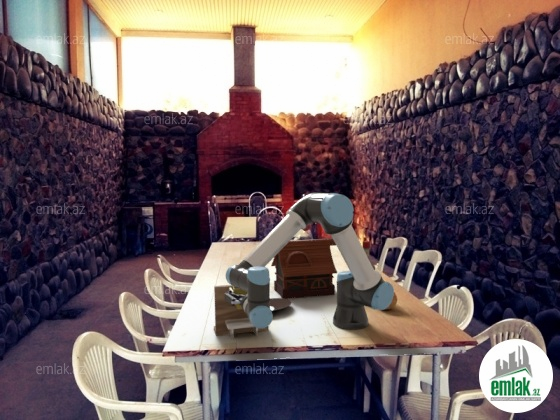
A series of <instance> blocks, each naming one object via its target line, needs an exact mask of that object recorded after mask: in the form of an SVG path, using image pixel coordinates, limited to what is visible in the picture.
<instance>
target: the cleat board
mask: <svg viewBox="0 0 560 420" xmlns="http://www.w3.org/2000/svg"><path fill="white" fill-rule="evenodd" d="M213 287H214V290H213V291H214V293H213V294H214V326H213V330H214V334H215V336H226V335H229V336H230V337H231V339H234V338H235V337H234V336H235V335H236V334H246V333H254V335H255V336H256V337H257V336H259V332H263V331H269V329H270V328H269V327H270V325H269V326H267V327H266V328H257V327H255V326H254V325H253V324H251V322H250V320H249V318H248V316H247V315H246V313H245V312H244V310H243V309H238V308H237V306H236V305H235V306H232V305H231V304H230V303H229V302H227V301H226V300H225V293H228V291H229V288H232V290H233V287H232V285H231V284H226V285H225V284H224V285H214V286H213Z"/></svg>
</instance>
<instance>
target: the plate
mask: <svg viewBox="0 0 560 420" xmlns="http://www.w3.org/2000/svg"><path fill="white" fill-rule="evenodd" d="M291 304H292V301H291V299H284V298H281V297H271V298H270V307H272V308H273V310H271V312H272V313H273V312H275V311H277V310H282V309H285V308H287V307H289V306H291Z"/></svg>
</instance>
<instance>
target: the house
mask: <svg viewBox="0 0 560 420" xmlns="http://www.w3.org/2000/svg"><path fill="white" fill-rule="evenodd" d="M333 246H334V247H335V246H336V247H337V245H336V244H335V242H334V240H333V238H332V237H331V238H317V239H303V240H290V241H289V242H288V243H287V244H286V245H285V246H284V247H283V248H282V249H281V250H280V251H279V252H278V253H277V255H276V256H275V257H274V258H273V259H272V263H271V267H274V269H275V272H274V275H275V280H273V290H274V292H276V293H277V294H278V295H279V296H280V298H284V299H289V300H291V299H299V298H311V297H312V298H313V297H325V296H326V297H327V296H335V295H336V291H335V290H336V287H335V284H334V283H333V279H334V278H335V276H334V275H333V274H335V275H336V274H338V270H337V267H336V266H335V263H334V259H333V255H332V250H331V247H333Z"/></svg>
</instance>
